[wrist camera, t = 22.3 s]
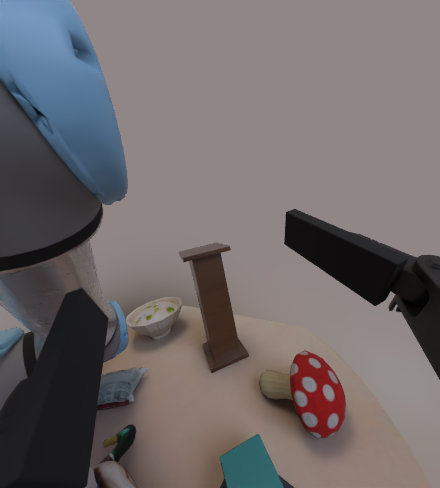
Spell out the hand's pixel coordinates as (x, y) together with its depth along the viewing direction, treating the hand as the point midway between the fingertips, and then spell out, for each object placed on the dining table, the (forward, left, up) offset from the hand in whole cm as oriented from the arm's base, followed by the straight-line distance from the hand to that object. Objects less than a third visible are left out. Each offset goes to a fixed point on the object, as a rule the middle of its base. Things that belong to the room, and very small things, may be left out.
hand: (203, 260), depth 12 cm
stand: (-24, +23, -33) cm, 47 cm away
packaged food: (-39, +1, -33) cm, 51 cm away
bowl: (-51, +20, -33) cm, 64 cm away
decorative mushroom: (-3, +19, -33) cm, 38 cm away
